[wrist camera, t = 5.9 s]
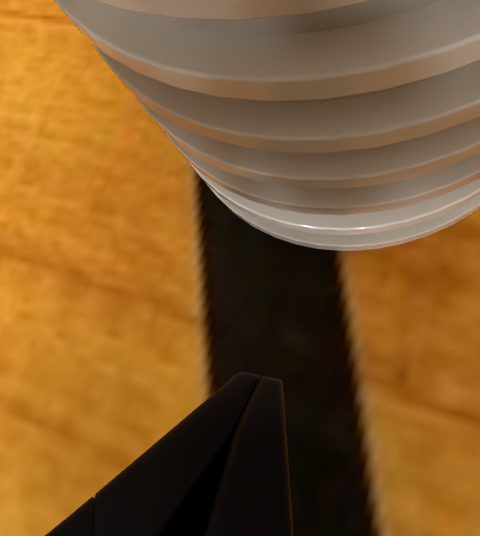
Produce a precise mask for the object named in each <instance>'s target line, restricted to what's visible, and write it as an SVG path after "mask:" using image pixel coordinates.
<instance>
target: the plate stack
mask: <svg viewBox="0 0 480 536" xmlns="http://www.w3.org/2000/svg"><path fill="white" fill-rule="evenodd" d="M54 1H55V2H56V3H57V5H58V6H59V7H60V8H61V9H62V11H63V12H64V13H65V14H66V16H67V17H68V18H69V19H70V20H71V22H72V23H73V24H74V25H75V26H76V28H77V29H78V30H79V31H80V32H81V33H82V34H83V35H84V36H85V37H86V38H88V39H89V40H90V41H91V42H92V43H93V45H94V46H95V48H96V50H97V52H98V54H99V55H100V56H101V57H102V59H103V60H104V61H105V62H106V63H107V65H108V66H109V67H110V68H111V70H112V71H113V72H114V73H115V74H116V76H117V77H118V78H119V79H120V80H121V82H122V83H123V84H124V85H125V86H126V88H127V89H128V90H130V91H131V92H132V93H133V94H134V96H135V98H136V99H137V101H138V102H139V103H140V104H141V105H142V107H143V108H144V109H145V110H146V112H147V113H148V114H149V115H150V116H151V118H152V119H153V120H154V121H155V122H156V124H157V125H158V126H159V127H160V128H161V129H162V130H163V132H164V133H165V134H166V136H167V137H168V138H169V139H170V140H171V142H172V143H173V144H174V145H175V146H176V148H177V149H178V150H179V151H180V153H181V154H182V155H183V156H184V157H185V159H187V161H188V162H189V163H190V164H191V166H192V167H193V168H194V169H195V170H196V172H197V173H198V174H199V175H200V177H201V178H202V179H203V180H204V181H205V182H206V184H207V185H208V186H209V187H210V189H211V190H212V191H213V192H214V193H215V195H216V196H217V197H218V198H219V199H220V201H221V202H222V203H223V204H225V205H226V206H227V207H228V208H229V209H230V210H231V211H232V212H233V213H234V214H236V215H237V216H238V217H240V218H241V219H243V220H244V221H246V222H247V223H249V224H250V225H252V226H253V227H255V228H257V229H259V230H261V231H263V232H265V233H267V234H269V235H271V236H273V237H275V238H278V239H282V240H285V241H288V242H291V243H294V244H297V245H302V246H307V247H312V248H317V249H325V250H341V251H354V250H370V249H378V248H384V247H389V246H394V245H400V244H404V243H407V242H410V241H413V240H416V239H420V238H423V237H426V236H429V235H431V234H433V233H436V232H438V231H440V230H442V229H444V228H447V227H449V226H451V225H453V224H455V223H457V222H458V221H460V220H462V219H463V218H465V217H467V216H468V215H470V214H471V213H473V212H475V211H476V210H478V209H479V208H480V0H54Z"/></svg>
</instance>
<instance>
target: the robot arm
mask: <svg viewBox="0 0 480 536" xmlns="http://www.w3.org/2000/svg"><path fill="white" fill-rule="evenodd" d="M45 536H293V524H292V510H291V495H290V481H289V467H288V453H287V439H286V424H285V410H284V396H283V383H282V380H281V379H278V378H272V377H267V376H263V377H260V376H259V375H257V374H252V373H247V372H240V373H238V374H236V375H235V376H234V377H233V378H232V379H231V380H229V381H228V382H227V383H226V384H225V385H223V386H222V387H221V388H220V389H219V390H218V391H216V392H215V393H214V394H213V395H212V396H211V397H209V398H208V399H207V400H206V401H205V402H203V403H202V404H201V405H200V406H199V407H198V408H196V409H195V410H194V411H193V412H192V413H190V414H189V415H188V416H187V417H186V418H185V419H183V420H182V421H181V422H180V423H179V424H178V425H176V426H175V427H174V428H173V429H172V430H170V431H169V432H168V433H167V434H166V435H165V436H163V437H162V438H161V439H160V440H159V441H157V442H156V443H155V444H154V445H153V446H152V447H150V448H149V449H148V450H147V451H146V452H145V453H143V454H142V455H141V456H140V457H139V458H137V459H136V460H135V461H134V462H133V463H132V464H130V465H129V466H128V467H127V468H126V469H124V470H123V471H122V472H121V473H120V474H119V475H117V476H116V477H115V478H114V479H113V480H112V481H110V482H109V483H108V484H107V485H106V486H104V487H103V488H102V489H101V490H100V491H99V492H97V493H96V495H95V498H94V497H91V498H90V499H89V500H88V501H86V502H85V503H84V504H83V505H82V506H81V507H79V508H78V509H77V510H76V511H75V512H74V513H72V514H71V515H70V516H69V517H67V518H66V519H65V520H64V521H62V522H61V523H60V524H59V525H58V526H56V527H55V528H54V529H53V530H51V531H50V532H49V533H48V534H46V535H45Z"/></svg>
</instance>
